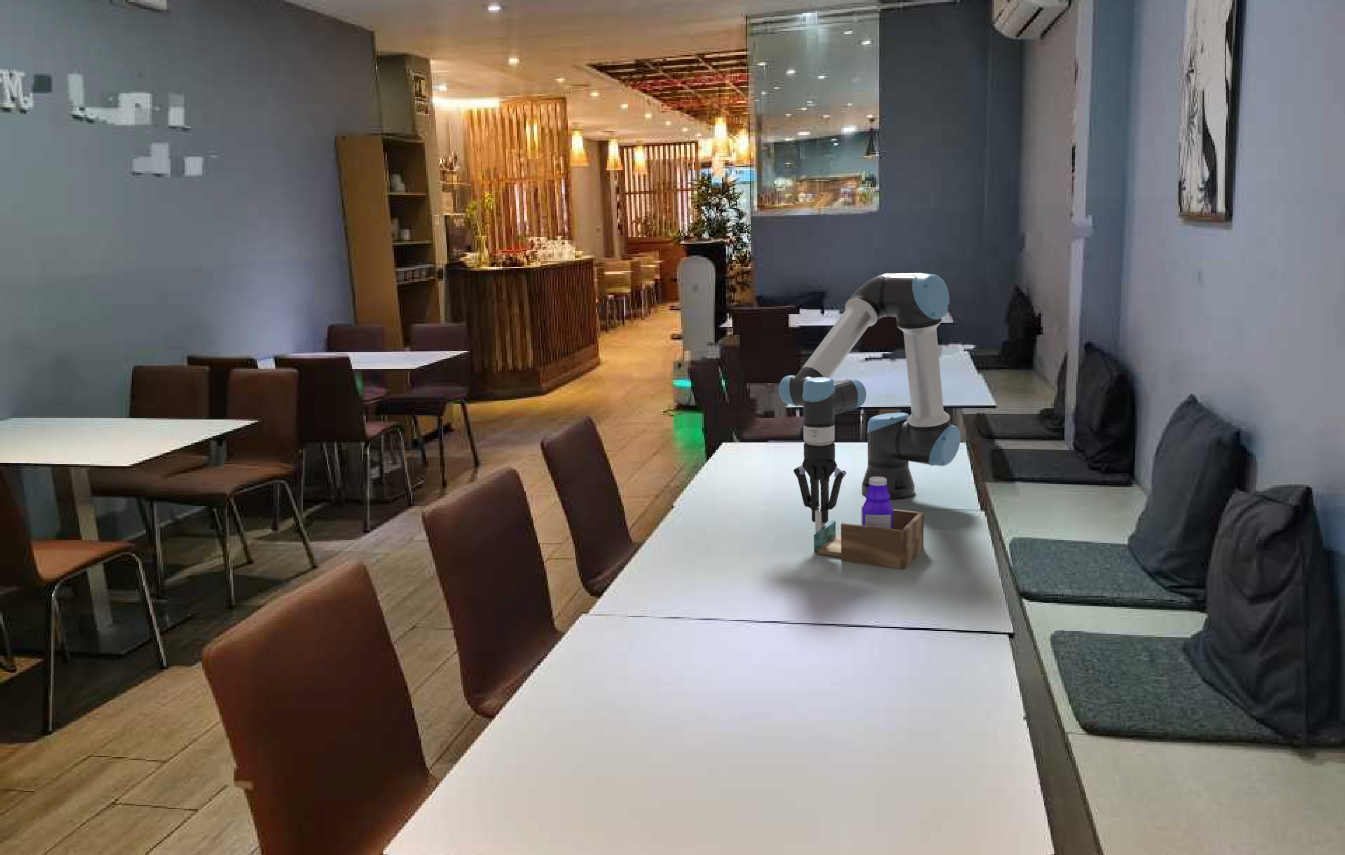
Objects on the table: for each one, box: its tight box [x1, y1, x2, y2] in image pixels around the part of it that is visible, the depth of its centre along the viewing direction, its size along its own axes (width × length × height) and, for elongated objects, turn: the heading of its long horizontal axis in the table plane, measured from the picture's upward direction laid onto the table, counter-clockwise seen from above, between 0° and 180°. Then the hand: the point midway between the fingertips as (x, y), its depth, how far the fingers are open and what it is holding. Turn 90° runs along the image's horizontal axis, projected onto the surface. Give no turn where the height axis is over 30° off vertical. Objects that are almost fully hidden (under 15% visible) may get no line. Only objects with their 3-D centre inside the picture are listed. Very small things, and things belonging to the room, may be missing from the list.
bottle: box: [861, 477, 894, 529], centre depth 230 cm, size 7×6×17 cm
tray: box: [813, 520, 841, 558], centre depth 233 cm, size 12×21×5 cm, turn 61°
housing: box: [840, 505, 925, 570], centre depth 230 cm, size 16×15×9 cm
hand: (820, 534), depth 238 cm, fingers closed
